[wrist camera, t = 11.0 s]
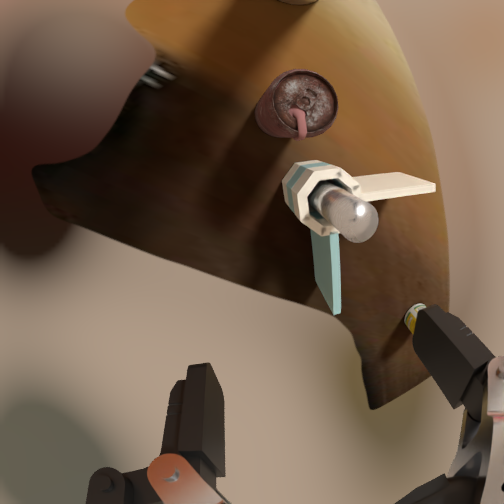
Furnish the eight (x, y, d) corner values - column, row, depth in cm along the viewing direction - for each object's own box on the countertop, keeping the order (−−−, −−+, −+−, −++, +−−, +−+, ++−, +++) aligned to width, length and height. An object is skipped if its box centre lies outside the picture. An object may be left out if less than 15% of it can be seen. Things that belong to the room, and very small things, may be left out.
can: (256, 141, 34) (272, 142, 21) (252, 93, 31) (264, 66, 18) (303, 138, 34) (345, 140, 21) (299, 91, 31) (338, 68, 18)
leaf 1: (279, 165, 35) (294, 174, 27) (330, 158, 35) (358, 165, 27) (296, 284, 42) (310, 320, 34) (339, 275, 42) (362, 307, 34)
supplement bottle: (419, 297, 45) (447, 326, 37) (428, 311, 47) (453, 340, 38) (399, 317, 47) (423, 348, 38) (409, 329, 48) (432, 360, 40)
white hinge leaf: (279, 165, 35) (294, 174, 27) (396, 152, 35) (434, 159, 27) (287, 216, 38) (302, 239, 29) (399, 197, 38) (434, 215, 29)
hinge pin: (295, 176, 36) (338, 204, 21) (320, 172, 36) (377, 198, 21) (298, 201, 37) (341, 246, 22) (323, 197, 37) (378, 238, 22)
